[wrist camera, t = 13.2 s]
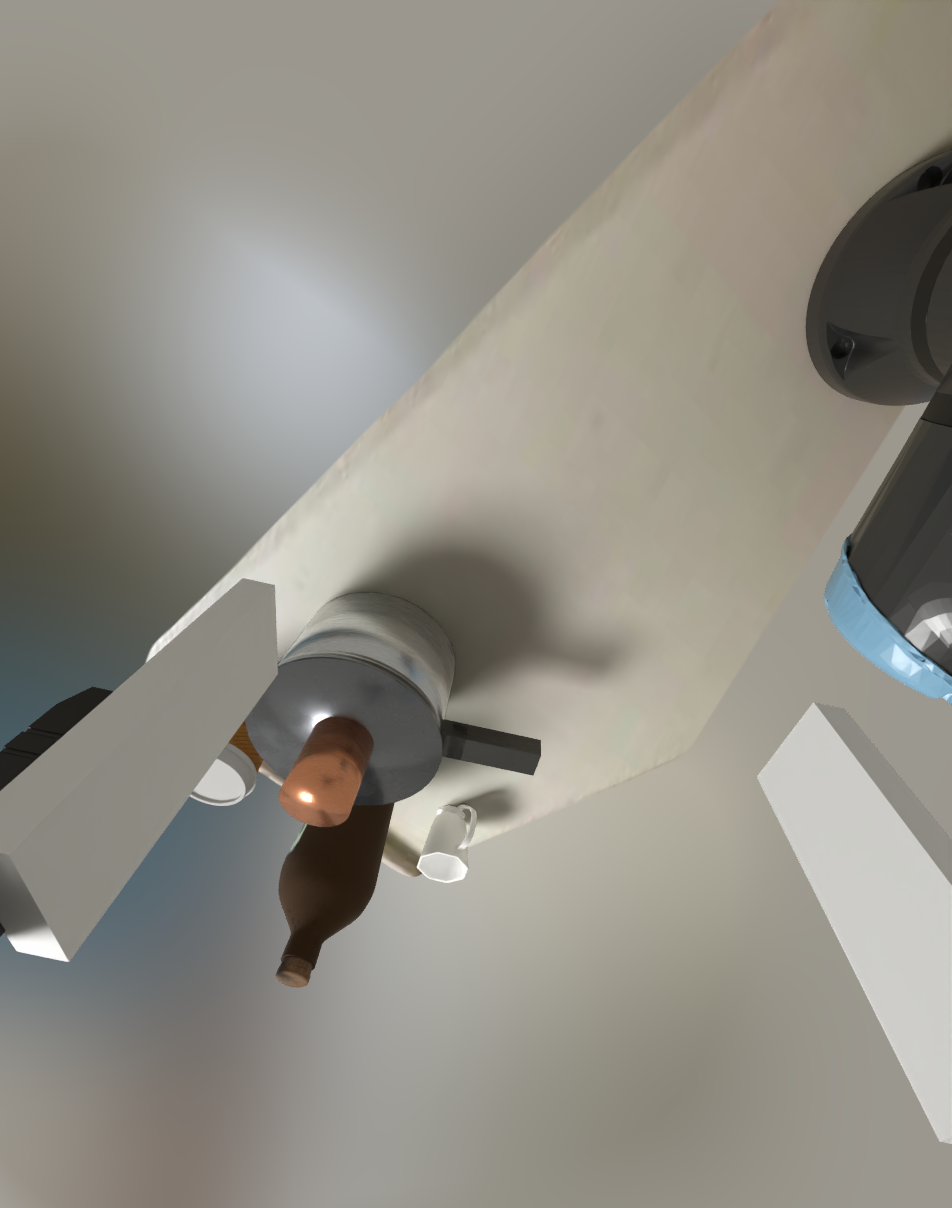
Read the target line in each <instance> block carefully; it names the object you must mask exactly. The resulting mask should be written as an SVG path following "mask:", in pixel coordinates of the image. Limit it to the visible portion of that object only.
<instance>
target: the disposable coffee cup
mask: <svg viewBox="0 0 952 1208" xmlns="http://www.w3.org/2000/svg"><path fill="white" fill-rule="evenodd" d="M262 761H263V759H262V758H261V756H260V755H259V753H258V752H257V751H256V749H255V748H254V746H253V744H252V742H251V740H250V738H249V735H248V732H247V729H246V723H245V720H244V722H243V723H242V724H241V726H240V727H239V728H238V730H237V731H236V733H235V734H234V735H233V737H232V738H231V739H230V741H229V742H228V744H227V745H226V746H225V748H224V749H223V750H222V752H221V753H220V755H219V756H218V757H217V759H216V760H215V761H214V763H213V764H212V766H211V767H210V768H209V770H208V771H207V773H206V774H205V775H204V777H203V778H202V779H201V781H200V782H199V784H198V785H197V786H196V788H195V789H194V790H193V792H192V793H191V795H190V797H192V798H194V799H197V800H199V801H201V802H204V803H207V804H211V805H217V806H227V805H232V804H235V803H237V802H239V801H240V800H242V799H243V798H244V797H245V796H247V795H248V794H250V793H251V792H252V791H253V789H254V787H255V784H256V777H257V772H258V770H259V768H260V766H261V764H262Z"/></svg>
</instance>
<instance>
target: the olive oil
mask: <svg viewBox="0 0 952 1208" xmlns="http://www.w3.org/2000/svg"><path fill="white" fill-rule="evenodd" d="M394 803H395V802H393V803H388V804H383V805H353V806H352V809H351V812H350V815H349V817H348V818H347V820H346V821H344V822H343V823H341V824H339V825H336V826H332V827H318V826H313V825H309V824H306V823H304V824H303V826H302V828H301V830H300V832H299V834H298V836H297V838H296V840H295V841H294V843H293V845H292V847H291V849H290V851H289V853H288V855H287V857H286V859H285V861H284V864H283V866H282V870H281V875H280V880H279V898H280V902H281V905H282V908H283V910H284V913H285V916H286V919H287V921H288V924H289V927H290V930H291V936H290V939H289V941H288V943H287V945H286V948H285V950H284V953H283V955H282V957H281V962H282V963H281V965H280V967H279V968H278V971H277V973H276V978H277V979H278V980H279V981H280V982H281V983H283V984H285V985H288V986H291V987H304V986H306V985H307V984H308V982H309V979H310V974H311V971H312V970H313V969H314V968H315V965H316V962H317V959H318V956H319V952H320V949H321V945H322V943H323V942H324V941H325V940H326V939H328V938H329V937H331V936H332V935H334V934H335V933H337V932H338V931H340V930H341V929H343V928H344V927H346V926H347V925H349V924H351V923H352V922H353V921H354V920H356V919H357V918H358V917H359V916H360V914H361V913H362V912H363V911H364V909H365V908H366V906H367V904H368V903H369V901H370V899H371V897H372V895H373V892H374V889H375V886H376V882H377V877H378V873H379V868H380V863H381V859H382V854H383V850H384V845H385V841H386V837H387V832H388V828H389V824H390V819H391V815H392V811H393V807H394Z"/></svg>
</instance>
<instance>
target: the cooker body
mask: <svg viewBox="0 0 952 1208" xmlns="http://www.w3.org/2000/svg"><path fill="white" fill-rule="evenodd" d="M317 653H332V654H342V655H348V656H353V657H357V658H361V659H365V660H368V661H370V662H373V663H376V664H378V665H381V666H383V667H385V668H387V669H389V670H391V671H393V672H394V673H396V674H397V675H399V676H401V677H402V678H404V679H405V680H406V681H408V682H409V683H410V684H411V685H413V686H414V687H415V688H416V689H417V690H418V691H419V692H420V693H421V694H422V695H423V696H424V697H425V699H426V700H427V701H428V702H429V704H430V705H431V706H432V708H433V710H434V711H435V713H436V715H437V717H438V720H439V722H440V724H441V728H442V733H443V752H442V756H444V757H449V758H454V759H458V760H463V761H468V762H472V763H477V764H482V765H486V766H491V767H496V768H501V769H505V770H510V771H515V772H519V773H524V774H529V775H534V772H535V770H536V767H537V764H538V762H539V759H540V757H541V740H538V739H533V738H528V737H524V736H519V735H514V734H510V733H505V732H500V731H496V730H491V729H486V728H482V727H477V726H472V725H468V724H463V723H458V722H454V721H449V720H444V718H445V713H446V709H447V704H448V700H449V695H450V691H451V686H452V682H453V677H454V671H455V657H454V652H453V649H452V646H451V643H450V641H449V639H448V637H447V635H446V634H445V632H444V631H443V629H442V628H441V626H440V625H439V624H438V623H437V622H436V621H435V620H434V619H433V618H432V617H431V616H430V615H428V614H427V613H426V612H425V611H423V610H422V609H420V608H419V607H417V606H416V605H414V604H412V603H410V602H408V601H406V600H403V599H401V598H398V597H395V596H391V595H388V594H382V593H373V592H362V593H353V594H348V595H344V596H342V597H339V598H336V599H334V600H332V601H330V602H329V603H327V604H326V605H325V606H323V607H322V608H321V609H320V610H319V611H318V612H317V613H316V614H315V616H314V617H313V618H312V620H311V621H310V622H309V624H308V625H307V626H306V628H305V629H304V630H303V632H302V633H301V634H300V636H299V637H298V638H297V640H296V641H295V642H294V644H293V645H292V646H291V648H290V649H289V650H288V652H287V653H286V655H285V656H284V657H283V659H282V660H281V661H280V663H281V662H283V661H285V660H287V659H291V658H294V657H297V656H301V655H307V654H317Z"/></svg>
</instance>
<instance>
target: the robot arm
mask: <svg viewBox="0 0 952 1208" xmlns="http://www.w3.org/2000/svg"><path fill="white" fill-rule="evenodd" d="M806 338H807V345H808V350H809V354H810V357H811V360H812V362H813V364H814V366H815V368H816V370H817V372H818V373H819V375H820V376H821V377H822V378H823V380H824V381H825V382H826V383H827V384H828V385H829V386H831V387H832V388H833V389H834V390H836V391H838V392H839V393H841V394H843V395H845V396H847V397H850V398H853V399H856V400H860V401H864V402H869V403H874V404H879V405H889V406H901V405H913V404H919V403H924V402H929V401H930V403H929V404H928V406H927V408H926V410H925V411H924V413H923V415H922V416H921V418H920V419H919V421H918V422H917V424H916V426H915V428H914V429H913V431H912V433H911V435H910V436H909V438H908V440H907V442H906V443H905V445H904V447H903V449H902V450H901V452H900V454H899V455H898V457H897V459H896V461H895V462H894V464H893V465H892V467H891V469H890V471H889V472H888V474H887V476H886V477H885V479H884V481H883V483H882V484H881V486H880V487H879V489H878V491H877V493H876V494H875V496H874V498H873V500H872V501H871V503H870V504H869V506H868V508H867V510H866V511H865V513H864V515H863V516H862V518H861V520H860V521H859V523H858V525H857V527H856V528H855V530H854V531H853V533H852V534H851V535H850V536H849V537H847V538H846V540H845V541H844V544H843V546H842V550H841V557H840V559H839V561H838V563H837V565H836V567H835V569H834V571H833V573H832V575H831V577H830V579H829V581H828V583H827V585H826V588H825V593H824V601H825V604H826V607H827V610H828V611H829V617H830V619H831V621H832V622H833V624H834V626H835V627H836V629H837V630H838V631H839V633H840V634H841V635H842V636H843V637H844V638H845V639H846V640H847V641H848V642H849V644H851V646H853V647H854V648H855V649H856V650H857V651H858V652H859V653H860V654H862V655H863V656H864V657H865V658H866V659H868V660H869V661H870V662H872V663H873V664H874V665H876V666H877V667H878V668H880V669H881V670H883V671H884V672H886V673H887V674H889V675H890V676H892V677H893V678H895V679H896V680H898V681H900V682H901V683H903V684H905V685H907V686H908V687H910V688H912V689H914V690H916V691H918V692H920V693H922V694H924V695H926V696H928V697H931V698H933V699H937V698H941V697H943V698H944V699H945V700H947V701H948V702H949V703H950V704H952V150H950V151H947V152H945V153H942V154H940V155H938V156H935V157H933V158H930V159H928V160H926V161H924V162H922V163H920V164H918V165H916V166H914V167H912V168H911V169H909V170H907V171H905V172H904V173H902V174H901V175H899V176H898V177H896V178H895V179H893V180H892V181H891V182H889V183H888V184H887V185H885V186H884V187H883V188H882V189H881V190H879V191H878V192H877V193H876V194H875V195H874V196H873V197H872V198H870V199H869V200H868V201H867V202H866V203H865V204H864V205H863V206H862V207H861V208H860V209H859V210H858V212H857V213H856V214H855V215H854V216H853V217H852V218H851V220H850V221H849V222H848V223H847V225H846V226H845V227H844V229H843V230H842V231H841V233H840V234H839V236H838V237H837V238H836V240H835V242H834V243H833V245H832V246H831V248H830V250H829V251H828V253H827V255H826V257H825V259H824V261H823V263H822V265H821V267H820V269H819V272H818V274H817V276H816V279H815V282H814V284H813V288H812V291H811V295H810V299H809V303H808V309H807V317H806ZM277 675H278V663H277V634H276V605H275V585H272V584H267V583H263V582H258V581H253V580H249V579H244V578H243V579H241V580H240V581H239V582H238V583H237V584H236V585H235V586H233V587H232V588H231V589H230V590H229V591H228V592H227V593H226V594H224V595H223V596H222V597H221V598H220V599H219V600H218V601H216V602H215V603H214V604H213V605H212V606H211V607H210V608H208V609H207V610H206V611H205V612H204V613H203V614H202V615H200V616H199V617H198V618H197V619H196V620H195V621H194V622H192V623H191V624H190V625H189V626H188V627H187V628H186V629H184V630H183V631H182V632H181V633H180V634H179V635H178V636H177V637H175V638H174V639H173V640H172V641H171V642H170V643H169V644H167V645H166V646H165V647H164V648H163V649H162V650H161V651H159V652H158V653H157V654H156V655H155V656H154V657H153V658H151V659H150V660H149V661H148V662H147V663H146V664H145V665H143V666H142V667H141V668H140V669H139V670H138V671H137V672H135V673H134V674H133V675H132V676H131V677H130V678H129V679H128V680H126V681H125V682H124V683H123V684H122V685H121V686H120V687H118V688H117V689H116V690H115V691H110V690H105V689H100V688H96V687H91V688H89V689H87V690H85V691H83V692H81V693H79V694H77V695H75V696H73V697H71V698H68V699H66V700H64V701H62V702H60V703H58V704H56V705H55V706H54V707H52V708H51V709H50V710H49V711H47V712H46V713H45V714H44V715H42V716H41V717H40V718H39V719H37V720H36V721H35V722H34V723H33V724H31V725H30V726H29V727H28V730H27V731H26V732H21V733H20V734H19V735H17V736H16V737H15V738H14V739H12V740H11V741H10V742H9V743H7V744H6V745H5V746H4V748H3V750H2V751H1V752H0V936H1V935H2V934H3V933H5V934H6V936H7V937H8V939H9V940H10V942H11V943H12V945H13V946H14V948H15V949H16V950H17V951H18V952H23V953H28V954H32V955H37V956H42V957H47V958H52V959H57V960H62V961H66V962H69V961H70V960H71V958H72V957H73V956H74V954H75V953H76V952H77V950H78V949H79V948H80V946H81V945H82V943H83V942H84V941H85V939H86V938H87V937H88V935H89V934H90V932H91V931H92V930H93V928H94V927H95V925H96V924H97V923H98V921H99V920H100V919H101V917H102V916H103V914H104V913H105V912H106V910H107V909H108V908H109V906H110V905H111V903H112V902H113V901H114V899H115V898H116V897H117V895H118V894H119V892H120V891H121V890H122V888H123V887H124V886H125V884H126V883H127V881H128V880H129V879H130V877H131V876H132V875H133V873H134V872H135V870H136V869H137V867H138V866H139V865H140V863H141V862H142V861H143V859H144V858H145V856H146V855H147V854H148V852H149V851H150V850H151V848H152V847H153V845H154V844H155V843H156V841H157V840H158V839H159V837H160V836H161V835H162V833H163V832H164V830H165V829H166V827H167V826H168V825H169V824H170V822H171V821H172V819H173V818H174V817H175V815H176V814H177V812H178V811H179V810H180V808H181V807H182V806H183V804H184V803H185V801H186V800H187V799H188V797H189V796H190V795H191V793H192V792H193V790H194V789H195V788H196V786H197V785H198V784H199V782H200V781H201V779H202V778H203V777H204V775H205V774H206V773H207V771H208V770H209V768H210V767H211V766H212V764H213V763H214V761H215V760H216V759H217V757H218V756H219V755H220V753H221V752H222V750H223V749H224V748H225V746H226V745H227V744H228V742H229V741H230V739H231V738H232V737H233V735H234V734H235V733H236V731H237V730H238V728H239V727H240V726H241V724H242V723H243V722H244V720H245V719H246V717H247V716H248V715H249V713H250V712H251V710H252V709H253V708H254V706H255V705H256V704H257V702H258V701H259V699H260V698H261V697H262V695H263V694H264V693H265V691H266V690H267V688H268V687H269V686H270V684H271V683H272V682H273V680H274V679H275V677H276V676H277ZM757 778H758V780H759V782H760V784H761V786H762V788H763V790H764V792H765V794H766V796H767V798H768V800H769V802H770V804H771V806H772V808H773V810H774V812H775V814H776V816H777V818H778V820H779V822H780V824H781V826H782V828H783V830H784V832H785V834H786V836H787V838H788V840H789V842H790V844H791V846H792V848H793V850H794V852H795V854H796V856H797V858H798V860H799V862H800V864H801V866H802V868H803V870H804V872H805V874H806V876H807V878H808V880H809V882H810V884H811V886H812V888H813V890H814V892H815V894H816V896H817V898H818V900H819V902H820V904H821V906H822V908H823V910H824V912H825V914H826V916H827V918H828V920H829V922H830V924H831V926H832V928H833V930H834V932H835V934H836V936H837V938H838V939H839V942H840V944H841V946H842V948H843V950H844V952H845V954H846V956H847V958H848V959H849V962H850V964H851V966H852V968H853V970H854V972H855V974H856V976H857V978H858V980H859V982H860V984H861V986H862V988H863V990H864V992H865V994H866V996H867V998H868V1000H869V1002H870V1004H871V1006H872V1008H873V1009H874V1012H875V1014H876V1015H877V1018H878V1020H879V1022H880V1023H881V1026H882V1028H883V1030H884V1032H885V1034H886V1036H887V1038H888V1039H889V1041H890V1044H891V1046H892V1048H893V1050H894V1052H895V1054H896V1056H897V1057H898V1059H899V1062H900V1064H901V1066H902V1067H903V1069H904V1071H905V1073H906V1075H907V1077H908V1079H909V1081H910V1083H911V1085H912V1087H913V1089H914V1091H915V1093H916V1095H917V1097H918V1099H919V1101H920V1103H921V1105H922V1107H923V1109H924V1111H925V1113H926V1115H927V1117H928V1119H929V1121H930V1123H931V1125H932V1127H933V1129H934V1131H935V1133H936V1135H937V1137H938V1139H939V1141H940V1142H945V1143H950V1144H952V839H951V838H950V837H949V836H948V834H947V833H946V832H945V831H944V829H943V828H942V827H941V826H940V825H939V824H938V822H937V821H936V820H935V818H934V817H933V816H932V815H931V814H930V812H929V811H928V810H927V809H926V808H925V806H924V805H923V804H922V803H921V801H920V800H919V799H918V798H917V797H916V796H915V794H914V793H913V792H912V790H911V789H910V788H909V787H908V786H907V784H906V783H905V782H904V781H903V780H902V778H901V777H900V776H899V775H898V773H897V772H896V771H895V770H894V768H893V767H892V766H891V765H890V764H889V762H888V761H887V760H886V759H885V758H884V756H883V755H882V754H881V753H880V752H879V750H878V749H877V748H876V747H875V745H874V744H873V743H872V742H871V740H870V739H869V738H868V737H867V736H866V734H865V733H864V732H863V731H862V729H861V728H860V727H859V726H858V725H857V723H856V722H855V721H854V720H853V718H852V717H851V716H850V715H849V714H848V713H847V711H846V710H845V709H843V708H838V707H834V706H829V705H824V704H820V703H815V702H814V703H813V704H812V705H811V706H810V708H809V709H808V710H807V712H806V713H805V714H804V716H803V717H802V718H801V720H800V721H799V722H798V723H797V725H796V726H795V728H794V729H793V730H792V731H791V733H790V734H789V735H788V737H787V738H786V739H785V741H784V742H783V743H782V745H781V746H780V747H779V749H778V750H777V751H776V752H775V754H774V755H773V756H772V758H771V759H770V760H769V762H768V763H767V764H766V766H765V767H764V768H763V770H762V771H761V772H760V774H759V775H758V776H757Z"/></svg>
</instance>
